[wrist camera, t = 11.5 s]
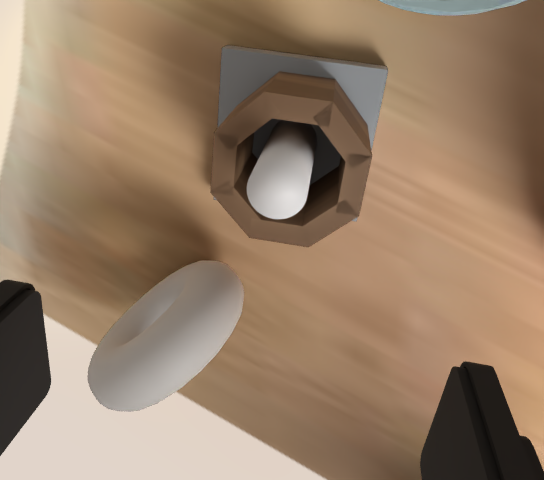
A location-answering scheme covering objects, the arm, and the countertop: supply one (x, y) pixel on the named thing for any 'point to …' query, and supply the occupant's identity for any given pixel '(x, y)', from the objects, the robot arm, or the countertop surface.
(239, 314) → the donut
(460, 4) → the blue grey cup
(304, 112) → the ring
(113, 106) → the countertop surface
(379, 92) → the peg stand
